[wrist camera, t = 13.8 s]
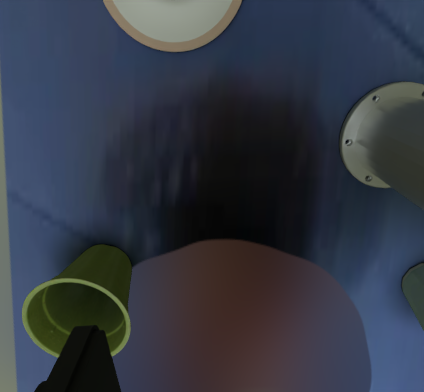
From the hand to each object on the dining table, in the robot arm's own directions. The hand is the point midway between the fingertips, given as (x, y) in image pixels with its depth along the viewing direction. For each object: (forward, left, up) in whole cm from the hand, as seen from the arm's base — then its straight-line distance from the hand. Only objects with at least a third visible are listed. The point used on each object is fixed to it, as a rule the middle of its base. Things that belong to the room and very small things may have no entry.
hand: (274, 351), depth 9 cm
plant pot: (+18, +18, -34) cm, 42 cm away
